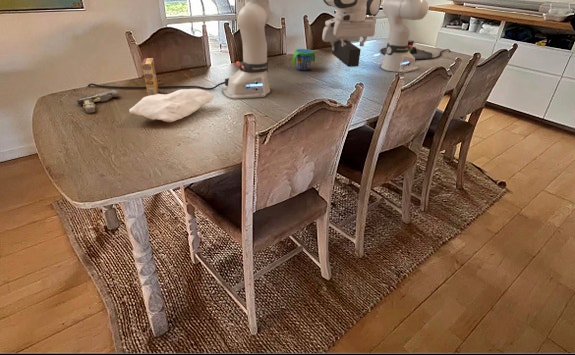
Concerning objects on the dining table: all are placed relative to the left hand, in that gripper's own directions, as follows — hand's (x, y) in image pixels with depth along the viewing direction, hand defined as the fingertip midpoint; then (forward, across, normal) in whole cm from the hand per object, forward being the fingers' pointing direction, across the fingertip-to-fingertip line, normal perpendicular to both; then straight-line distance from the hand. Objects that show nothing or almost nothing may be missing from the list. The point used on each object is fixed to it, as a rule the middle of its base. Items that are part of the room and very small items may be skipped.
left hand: (352, 46), depth 178 cm
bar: (+9, 0, -8) cm, 12 cm away
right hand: (+6, 0, -17) cm, 18 cm away
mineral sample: (+20, -64, -61) cm, 91 cm away
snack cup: (+19, +16, -30) cm, 39 cm away
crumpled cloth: (+19, +86, +28) cm, 93 cm away
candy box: (+19, +96, +4) cm, 98 cm away
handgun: (+19, +116, +13) cm, 119 cm away
